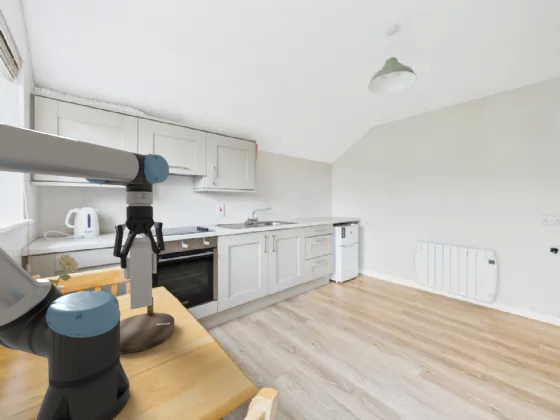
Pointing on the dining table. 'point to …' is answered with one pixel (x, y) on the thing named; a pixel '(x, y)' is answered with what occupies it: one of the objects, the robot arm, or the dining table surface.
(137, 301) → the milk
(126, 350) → the turntable
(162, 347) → the dining table surface
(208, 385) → the dining table surface
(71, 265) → the flower in vase
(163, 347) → the dining table surface
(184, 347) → the dining table surface
